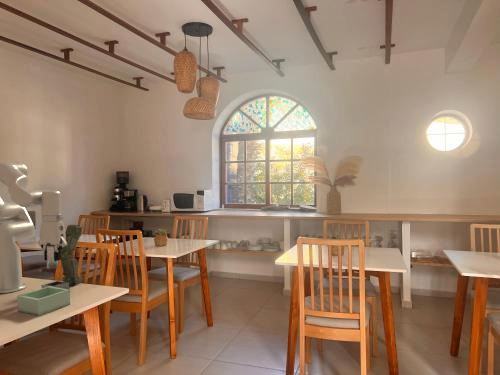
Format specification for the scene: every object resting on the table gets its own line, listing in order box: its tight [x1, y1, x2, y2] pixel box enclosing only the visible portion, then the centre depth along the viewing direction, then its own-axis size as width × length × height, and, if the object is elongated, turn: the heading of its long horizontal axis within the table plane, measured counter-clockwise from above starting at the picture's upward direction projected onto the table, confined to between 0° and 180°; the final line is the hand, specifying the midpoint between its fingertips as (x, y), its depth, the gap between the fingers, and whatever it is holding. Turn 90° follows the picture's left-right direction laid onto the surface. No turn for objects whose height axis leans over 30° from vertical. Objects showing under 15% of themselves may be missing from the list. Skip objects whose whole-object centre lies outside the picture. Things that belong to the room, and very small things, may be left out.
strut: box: [46, 242, 59, 270], centre depth 156 cm, size 4×4×12 cm
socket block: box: [40, 280, 71, 291], centre depth 156 cm, size 8×8×5 cm
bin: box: [16, 286, 71, 317], centre depth 140 cm, size 13×13×6 cm
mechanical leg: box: [60, 224, 84, 288], centre depth 172 cm, size 14×7×30 cm, turn 168°
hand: (52, 259), depth 156 cm, fingers closed on strut, 4 cm apart
